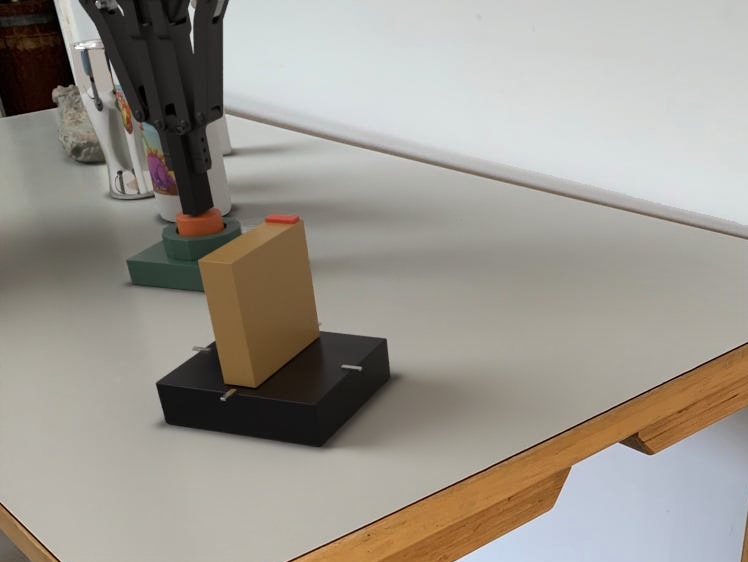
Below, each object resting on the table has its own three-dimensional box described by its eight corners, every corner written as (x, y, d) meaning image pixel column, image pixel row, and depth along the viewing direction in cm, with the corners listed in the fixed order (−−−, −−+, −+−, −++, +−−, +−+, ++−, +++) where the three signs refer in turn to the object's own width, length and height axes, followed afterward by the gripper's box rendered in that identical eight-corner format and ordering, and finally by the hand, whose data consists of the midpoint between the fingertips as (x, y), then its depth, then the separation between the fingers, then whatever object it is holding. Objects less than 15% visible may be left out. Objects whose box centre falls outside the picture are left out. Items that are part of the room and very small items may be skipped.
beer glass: (136, 203, 110) (98, 49, 100) (93, 196, 113) (53, 46, 103) (180, 187, 114) (148, 38, 105) (139, 181, 117) (104, 35, 108)
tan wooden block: (256, 388, 64) (230, 259, 58) (224, 384, 64) (196, 256, 59) (320, 335, 70) (302, 215, 65) (291, 332, 71) (271, 212, 66)
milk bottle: (232, 200, 109) (191, -14, 97) (233, 220, 103) (190, -5, 91) (161, 207, 108) (111, -8, 95) (158, 227, 102) (105, 1, 90)
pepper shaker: (196, 152, 128) (179, 69, 122) (226, 148, 129) (210, 65, 123) (202, 159, 125) (185, 74, 119) (233, 154, 126) (218, 70, 120)
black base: (148, 429, 66) (136, 386, 64) (249, 353, 76) (241, 313, 74) (321, 456, 62) (314, 411, 60) (404, 372, 72) (401, 330, 70)
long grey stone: (56, 180, 124) (138, 175, 127) (45, 134, 121) (129, 130, 123) (60, 110, 149) (128, 107, 152) (51, 71, 146) (121, 68, 148)
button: (171, 238, 88) (166, 218, 87) (195, 225, 91) (191, 205, 89) (209, 242, 87) (204, 221, 85) (233, 228, 89) (229, 208, 88)
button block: (132, 284, 89) (120, 238, 87) (187, 252, 96) (178, 209, 93) (236, 294, 86) (226, 248, 83) (286, 261, 92) (279, 217, 90)
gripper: (229, -131, 73) (283, 202, 88) (87, -123, 77) (162, 195, 92) (171, -126, 68) (239, 228, 83) (22, -119, 72) (112, 218, 87)
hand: (198, 210), depth 87 cm, fingers closed
